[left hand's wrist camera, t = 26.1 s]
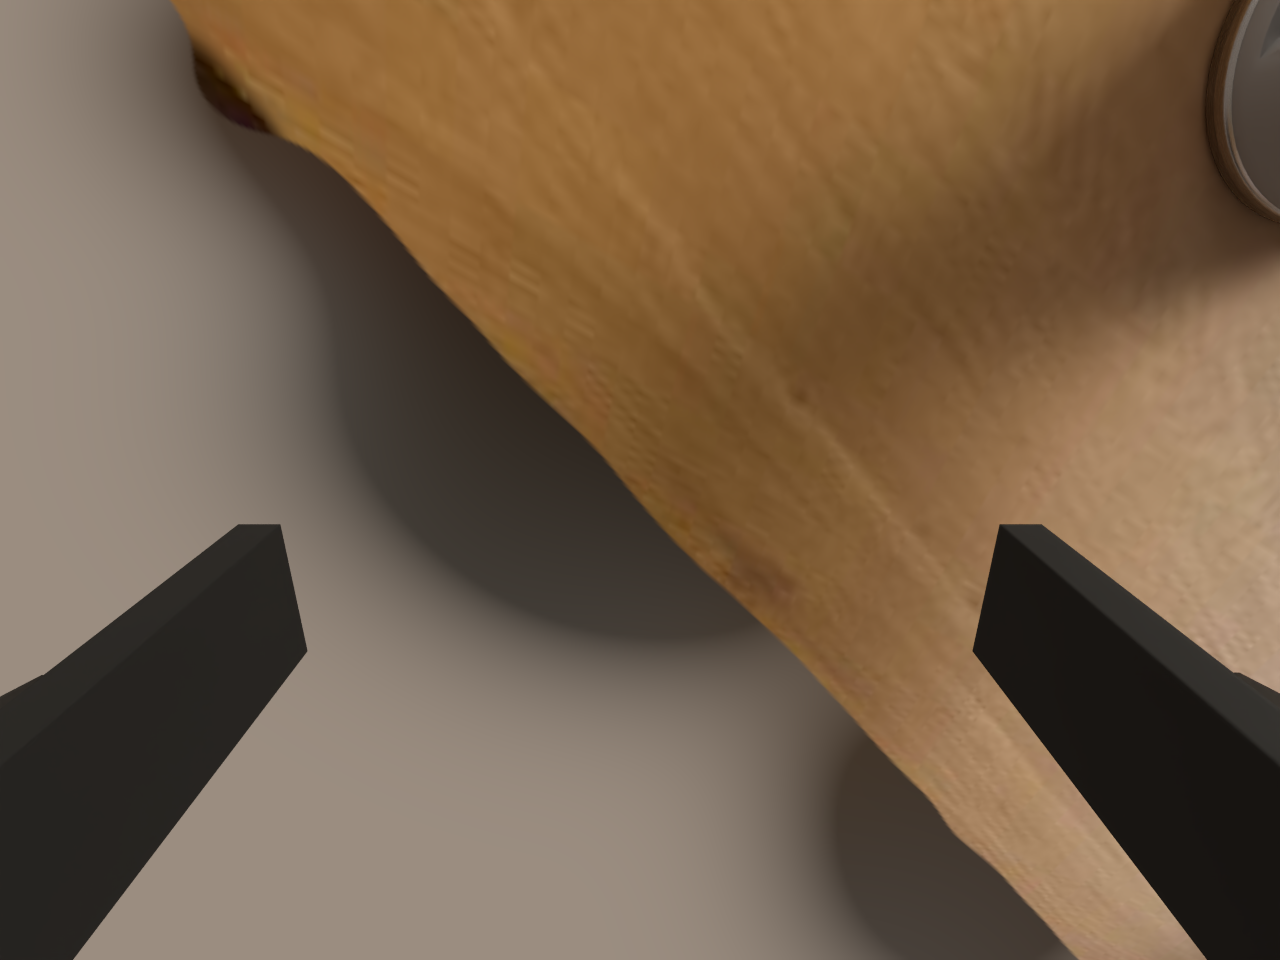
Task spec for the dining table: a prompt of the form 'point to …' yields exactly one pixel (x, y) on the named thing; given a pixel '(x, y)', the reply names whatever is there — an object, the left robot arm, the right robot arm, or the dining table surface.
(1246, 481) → the dining table surface
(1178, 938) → the dining table surface
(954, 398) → the dining table surface
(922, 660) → the dining table surface
